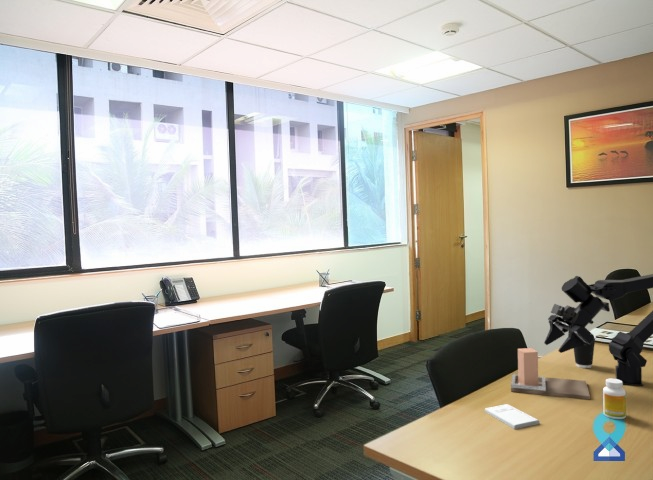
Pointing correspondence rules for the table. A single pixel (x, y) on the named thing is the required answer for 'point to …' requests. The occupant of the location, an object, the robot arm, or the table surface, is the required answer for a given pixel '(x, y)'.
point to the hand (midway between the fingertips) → (552, 347)
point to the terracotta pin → (528, 366)
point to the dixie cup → (584, 355)
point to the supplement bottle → (614, 399)
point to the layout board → (553, 387)
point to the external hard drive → (511, 416)
